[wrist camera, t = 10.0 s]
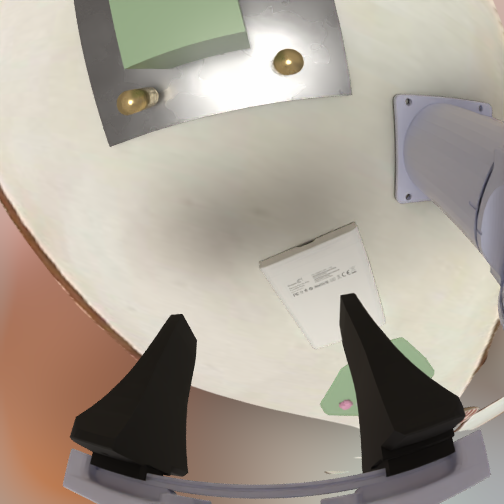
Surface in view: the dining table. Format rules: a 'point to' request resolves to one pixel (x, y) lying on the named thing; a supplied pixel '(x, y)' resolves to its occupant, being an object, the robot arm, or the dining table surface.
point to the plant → (342, 389)
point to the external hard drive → (324, 283)
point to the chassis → (216, 68)
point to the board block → (176, 31)
